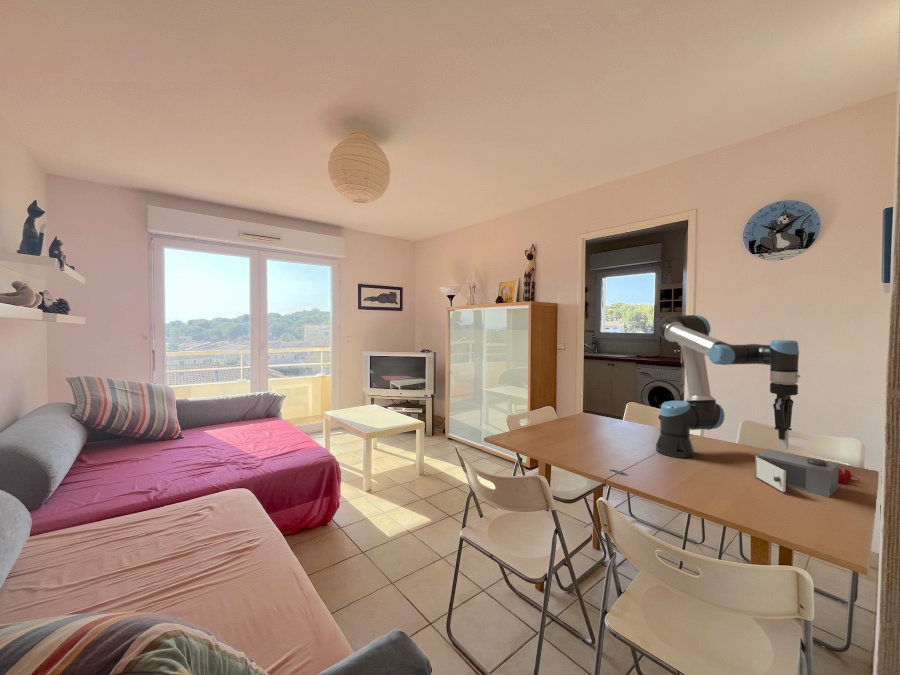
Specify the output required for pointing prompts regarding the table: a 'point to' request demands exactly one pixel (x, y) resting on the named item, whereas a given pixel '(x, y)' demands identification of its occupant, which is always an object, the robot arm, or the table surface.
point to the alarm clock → (845, 476)
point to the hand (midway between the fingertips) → (782, 447)
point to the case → (805, 472)
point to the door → (770, 474)
